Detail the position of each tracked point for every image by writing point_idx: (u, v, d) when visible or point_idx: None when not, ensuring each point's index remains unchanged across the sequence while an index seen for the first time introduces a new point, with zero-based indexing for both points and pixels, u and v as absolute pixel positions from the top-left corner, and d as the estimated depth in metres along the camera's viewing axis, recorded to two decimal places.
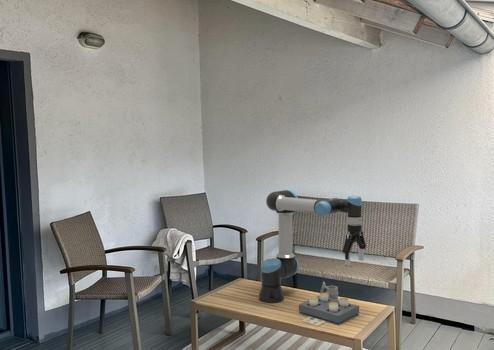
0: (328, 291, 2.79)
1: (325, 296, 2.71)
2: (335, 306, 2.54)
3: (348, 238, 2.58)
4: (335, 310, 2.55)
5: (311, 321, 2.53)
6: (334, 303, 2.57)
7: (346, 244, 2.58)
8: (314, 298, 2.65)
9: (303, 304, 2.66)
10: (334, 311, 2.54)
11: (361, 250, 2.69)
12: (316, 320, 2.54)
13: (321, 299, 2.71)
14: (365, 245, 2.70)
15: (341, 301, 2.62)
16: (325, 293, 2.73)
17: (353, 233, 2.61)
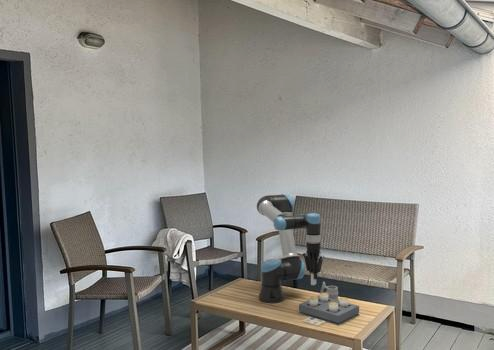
0: (328, 291, 2.79)
1: (325, 296, 2.71)
2: (335, 306, 2.54)
3: None
4: (335, 310, 2.55)
5: (311, 321, 2.53)
6: (334, 303, 2.57)
7: None
8: (314, 298, 2.65)
9: (303, 304, 2.66)
10: (334, 311, 2.54)
11: None
12: (316, 320, 2.54)
13: (321, 299, 2.71)
14: (317, 271, 2.61)
15: (341, 301, 2.62)
16: (325, 293, 2.73)
17: None
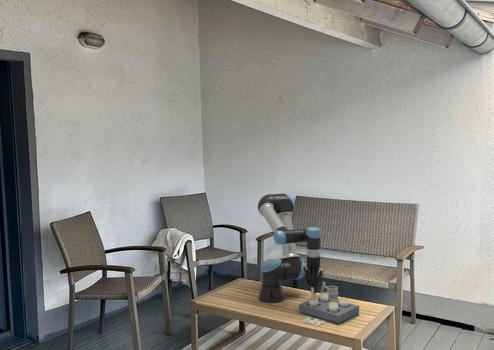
0: (328, 291, 2.79)
1: (325, 296, 2.71)
2: (335, 306, 2.54)
3: None
4: (335, 310, 2.55)
5: (311, 321, 2.53)
6: (334, 303, 2.57)
7: None
8: (314, 299, 2.65)
9: (303, 304, 2.66)
10: (334, 311, 2.54)
11: None
12: (316, 320, 2.54)
13: (321, 299, 2.71)
14: (317, 285, 2.62)
15: (341, 301, 2.62)
16: (325, 293, 2.73)
17: (307, 263, 2.66)
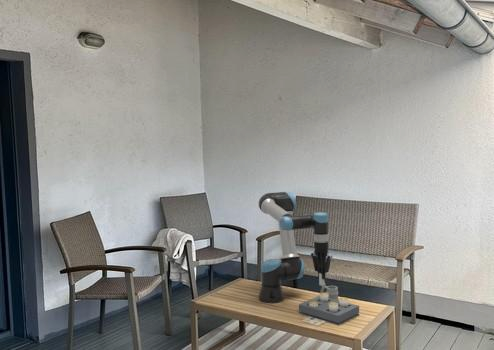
0: (328, 291, 2.79)
1: (325, 296, 2.71)
2: (335, 306, 2.54)
3: None
4: (335, 310, 2.55)
5: (311, 321, 2.53)
6: (334, 303, 2.57)
7: None
8: (314, 303, 2.65)
9: (303, 304, 2.66)
10: (334, 311, 2.54)
11: None
12: (316, 320, 2.54)
13: (321, 299, 2.71)
14: (325, 271, 2.57)
15: (341, 301, 2.62)
16: (325, 293, 2.73)
17: None
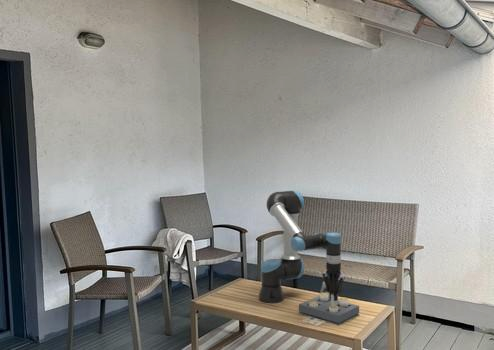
0: None
1: (325, 296, 2.71)
2: (335, 309, 2.54)
3: None
4: None
5: (311, 321, 2.53)
6: None
7: None
8: (314, 303, 2.65)
9: (303, 304, 2.66)
10: None
11: None
12: (316, 320, 2.54)
13: (321, 299, 2.71)
14: (337, 292, 2.53)
15: (341, 301, 2.62)
16: (325, 293, 2.73)
17: None
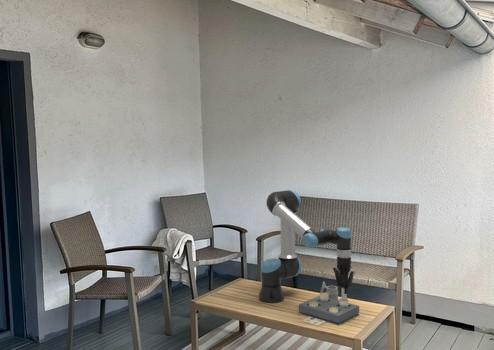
0: (328, 291, 2.79)
1: (325, 296, 2.71)
2: (335, 311, 2.55)
3: None
4: None
5: (311, 321, 2.53)
6: (334, 308, 2.57)
7: None
8: (314, 303, 2.65)
9: (303, 304, 2.66)
10: None
11: None
12: (316, 320, 2.54)
13: (321, 299, 2.71)
14: (347, 286, 2.60)
15: (341, 302, 2.62)
16: (325, 293, 2.73)
17: (337, 264, 2.64)
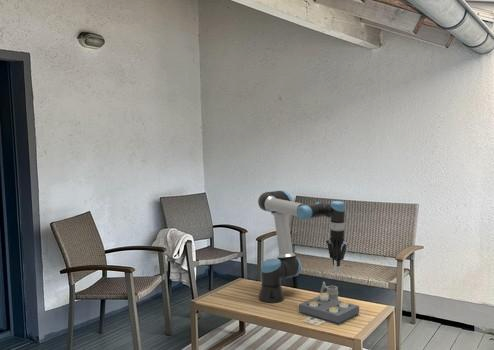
0: (328, 291, 2.79)
1: (325, 296, 2.71)
2: (335, 311, 2.55)
3: None
4: None
5: (311, 321, 2.53)
6: (334, 308, 2.57)
7: None
8: (314, 303, 2.65)
9: (303, 304, 2.66)
10: None
11: None
12: (316, 320, 2.54)
13: (321, 299, 2.71)
14: (340, 258, 2.63)
15: (341, 306, 2.62)
16: (325, 293, 2.73)
17: None
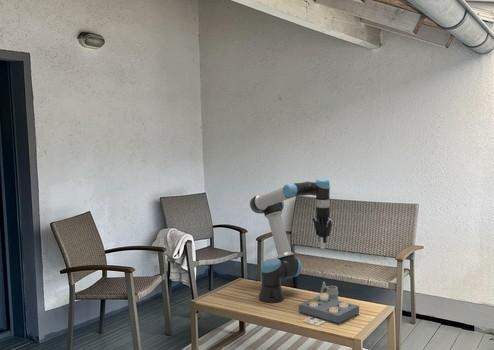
0: (328, 291, 2.79)
1: (325, 296, 2.71)
2: (335, 311, 2.55)
3: None
4: None
5: (311, 321, 2.53)
6: (334, 308, 2.57)
7: None
8: (314, 303, 2.65)
9: (303, 304, 2.66)
10: None
11: None
12: (316, 320, 2.54)
13: (321, 299, 2.71)
14: (326, 235, 2.69)
15: (341, 306, 2.62)
16: (325, 293, 2.73)
17: None
